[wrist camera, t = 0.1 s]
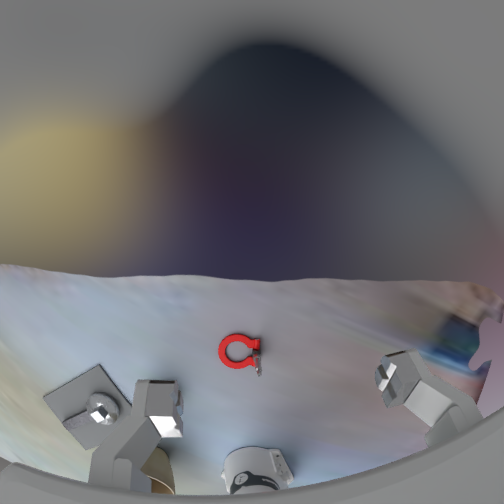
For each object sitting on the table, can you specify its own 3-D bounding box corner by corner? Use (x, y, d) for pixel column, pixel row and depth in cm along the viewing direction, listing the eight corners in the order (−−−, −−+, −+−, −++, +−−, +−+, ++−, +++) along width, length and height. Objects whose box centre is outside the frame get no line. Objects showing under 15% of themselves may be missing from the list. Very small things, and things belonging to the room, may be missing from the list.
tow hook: (218, 365, 66) (257, 367, 66) (213, 391, 53) (262, 393, 53) (219, 332, 65) (260, 334, 66) (215, 352, 52) (265, 354, 53)
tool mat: (147, 424, 64) (147, 425, 63) (86, 449, 63) (86, 450, 62) (99, 364, 62) (98, 365, 62) (43, 397, 61) (42, 398, 60)
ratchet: (105, 386, 62) (97, 396, 56) (127, 413, 63) (121, 425, 57) (57, 411, 61) (49, 420, 55) (77, 435, 62) (70, 445, 56)
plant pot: (122, 456, 64) (107, 491, 48) (141, 427, 64) (126, 464, 48) (168, 479, 65) (161, 515, 49) (190, 452, 65) (185, 491, 49)
